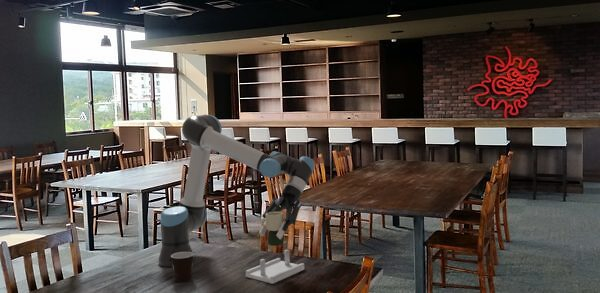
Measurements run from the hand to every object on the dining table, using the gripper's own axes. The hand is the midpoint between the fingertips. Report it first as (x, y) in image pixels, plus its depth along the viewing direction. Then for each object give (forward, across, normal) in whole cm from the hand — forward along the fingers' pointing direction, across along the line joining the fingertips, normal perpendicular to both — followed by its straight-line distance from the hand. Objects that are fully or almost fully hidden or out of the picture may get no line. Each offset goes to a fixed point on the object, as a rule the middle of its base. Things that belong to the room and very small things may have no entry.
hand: (269, 235), depth 210 cm
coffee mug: (+27, +26, +4) cm, 38 cm away
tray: (+9, 0, -14) cm, 17 cm away
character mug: (+1, 0, -6) cm, 6 cm away
